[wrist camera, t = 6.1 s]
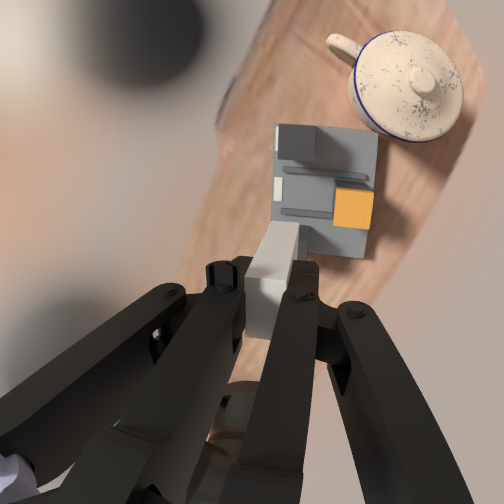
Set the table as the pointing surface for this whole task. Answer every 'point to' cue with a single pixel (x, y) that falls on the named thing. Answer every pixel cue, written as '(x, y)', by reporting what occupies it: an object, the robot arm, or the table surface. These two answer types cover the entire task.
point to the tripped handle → (352, 204)
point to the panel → (320, 183)
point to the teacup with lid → (401, 84)
